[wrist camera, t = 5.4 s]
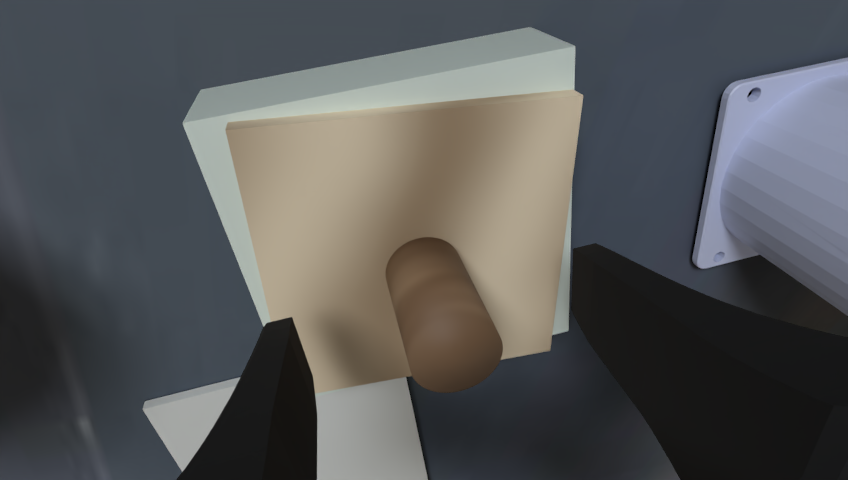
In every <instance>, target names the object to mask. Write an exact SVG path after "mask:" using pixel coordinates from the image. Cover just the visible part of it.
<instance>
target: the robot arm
mask: <svg viewBox="0 0 848 480" xmlns="http://www.w3.org/2000/svg"><path fill="white" fill-rule="evenodd" d="M752 89H753V91H752V93H751V95H750V96H749V97H748V98H747V96H748V94H749V92H750V91H751V90H752ZM757 255H761V256H763V257H764V258H766V259H767V260H768V261H770V262H771V263H773V264H774V265H776V266H777V267H778V268H780V269H781V270H783V271H784V272H786V273H787V274H788V275H790V276H791V277H793V278H794V279H796V280H797V281H798V282H800V283H801V284H803V285H804V286H806V287H807V288H808V289H810V290H811V291H813V292H814V293H816V294H817V295H818V296H820V297H821V298H823V299H824V300H826V301H827V302H828V303H830V304H831V305H833V306H834V307H836V308H837V309H838V310H840V311H841V312H843V313H844V314H846V315H847V316H848V58H844V59H839V60H834V61H829V62H825V63H820V64H815V65H810V66H806V67H801V68H796V69H791V70H787V71H782V72H777V73H772V74H768V75H763V76H758V77H753V78H749V79H744V80H739V81H736V82H733V83H731V84H730V85H729V86H728V87H727V88H726V89H725V91H724V93H723V95H722V99H721V104H720V110H719V115H718V121H717V126H716V132H715V137H714V142H713V148H712V153H711V159H710V164H709V170H708V175H707V181H706V186H705V192H704V197H703V202H702V208H701V213H700V219H699V224H698V230H697V235H696V241H695V246H694V251H693V257H692V261H693V263H694V264H695V265H696V266H697V267H699V268H701V269H705V268H710V267H713V266H717V265H721V264H725V263H729V262H733V261H737V260H741V259H745V258H749V257H753V256H757ZM571 310H572V312H573V314H574V316H575V318H576V320H577V322H578V324H579V326H580V327H581V329H582V331H583V333H584V335H585V336H586V338H587V340H588V342H589V343H590V345H591V346H592V347H593V349H594V350H595V352H596V353H597V354H598V356H599V357H600V359H601V360H602V361H603V363H604V364H605V365H606V367H607V368H608V369H609V371H610V372H611V373H612V375H613V376H614V378H615V379H616V380H617V382H618V383H619V384H620V386H621V387H622V388H623V390H624V391H625V392H626V394H627V395H628V396H629V398H630V399H631V400H632V402H633V403H634V405H635V406H636V407H637V409H638V410H639V411H640V413H641V414H642V416H643V417H644V419H645V420H646V422H647V423H648V425H649V426H650V428H651V429H652V431H653V433H654V435H655V436H656V438H657V440H658V441H659V443H660V445H661V446H662V448H663V450H664V451H665V453H666V455H667V457H668V458H669V460H670V462H671V463H672V465H673V467H674V469H675V471H676V472H677V474H678V476H679V478H680V480H848V337H843V336H838V335H833V334H829V333H825V332H821V331H817V330H812V329H808V328H805V327H801V326H797V325H794V324H790V323H786V322H783V321H779V320H776V319H772V318H769V317H766V316H763V315H759V314H756V313H753V312H751V311H748V310H745V309H742V308H739V307H736V306H733V305H730V304H728V303H725V302H722V301H720V300H717V299H714V298H712V297H710V296H707V295H705V294H702V293H700V292H698V291H695V290H693V289H690V288H688V287H686V286H684V285H681V284H679V283H677V282H675V281H673V280H670V279H668V278H666V277H664V276H662V275H660V274H658V273H656V272H654V271H652V270H650V269H648V268H645V267H643V266H641V265H639V264H637V263H635V262H633V261H631V260H629V259H627V258H625V257H623V256H621V255H619V254H617V253H615V252H613V251H611V250H609V249H607V248H605V247H603V246H601V245H598V244H596V243H595V244H591V245H587V246H583V247H578V248H574V249H573V275H572V306H571ZM177 480H317V407H316V398H315V389H314V381H313V375H312V372H311V369H310V367H309V364H308V361H307V358H306V355H305V352H304V350H303V347H302V344H301V341H300V338H299V335H298V332H297V330H296V327H295V324H294V321H293V318H292V317H289V318H285V319H281V320H277V321H273V322H268V323H266V325H265V326H264V327H263V329H262V332H261V334H260V337H259V339H258V341H257V344H256V346H255V348H254V350H253V353H252V355H251V357H250V359H249V361H248V363H247V365H246V367H245V369H244V371H243V373H242V375H241V377H240V379H239V381H238V383H237V385H236V387H235V389H234V391H233V393H232V395H231V397H230V399H229V400H228V402H227V404H226V405H225V407H224V409H223V411H222V412H221V414H220V416H219V418H218V419H217V421H216V423H215V424H214V426H213V428H212V429H211V431H210V432H209V434H208V436H207V437H206V439H205V440H204V442H203V443H202V445H201V446H200V448H199V449H198V451H197V452H196V454H195V455H194V457H193V458H192V459H191V461H190V462H189V464H188V465H187V466H186V468H185V469H184V471H183V472H182V473H181V474H180V476H179V477H178V478H177Z"/></svg>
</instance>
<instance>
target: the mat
mask: <svg viewBox="0 0 848 480" xmlns="http://www.w3.org/2000/svg"><path fill="white" fill-rule="evenodd" d="M239 379H240V377H239V378H235V379H231V380H227V381H223V382H219V383H215V384H211V385H207V386H203V387H199V388H196V389H192V390H188V391H184V392H180V393H176V394H172V395H168V396H164V397H160V398H156V399H152V400H148V401H145V403H144V406H143V411H144V412H145V414H146V416H147V417H148V419H149V420H150V422H151V423H152V425H153V427H154V428H155V430H156V431H157V433H158V434H159V436H160V438H161V439H162V441H163V442H164V444H165V445H166V447H167V448H168V450H169V452H170V453H171V455H172V456H173V458H174V459H175V461H176V463H177V464H178V466H179V467H180V469H181V470H182V472H183V471H184V469H185V468H186V466H187V465H188V464H189V462H190V461H191V459H192V458H193V457H194V455H195V454H196V452H197V451H198V449H199V448H200V446H201V445H202V443H203V442H204V440H205V439H206V437H207V436H208V434H209V432H210V431H211V429H212V428H213V426H214V424H215V423H216V421H217V419H218V418H219V416H220V414H221V412H222V411H223V409H224V407H225V405H226V404H227V402H228V400H229V399H230V397H231V395H232V393H233V391H234V389H235V387H236V385H237V383H238V381H239ZM315 398H316V407H317V480H428V478H427V473H426V468H425V463H424V459H423V454H422V449H421V445H420V440H419V435H418V431H417V426H416V421H415V416H414V412H413V407H412V402H411V398H410V393H409V388H408V383H407V379H406V377H403V378H398V379H392V380H387V381H381V382H376V383H370V384H365V385H359V386H355V387H352V388H348V389H344V390H340V391H336V392H332V393H329V394H325V395H321V396H317V397H315Z"/></svg>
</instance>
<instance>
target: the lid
mask: <svg viewBox="0 0 848 480" xmlns="http://www.w3.org/2000/svg"><path fill="white" fill-rule="evenodd" d="M582 102H583V95H582V94H580V93H578V92H577V91H575V90H573V89H572V90H562V91H551V92H540V93H530V94H519V95H509V96H498V97H488V98H477V99H467V100H456V101H445V102H435V103H424V104H414V105H403V106H393V107H382V108H372V109H361V110H351V111H340V112H330V113H319V114H309V115H298V116H288V117H277V118H267V119H256V120H245V121H235V122H228V123H227V126H226V129H225V131H226V135H227V139H228V144H229V148H230V152H231V156H232V160H233V165H234V169H235V173H236V177H237V181H238V186H239V190H240V194H241V198H242V202H243V207H244V211H245V215H246V219H247V223H248V228H249V232H250V236H251V240H252V244H253V249H254V253H255V257H256V261H257V265H258V270H259V274H260V278H261V282H262V286H263V291H264V295H265V299H266V303H267V307H268V312H269V316H270V320H271V322H273V321H277V320H281V319H285V318H289V317H292V318H293V321H294V324H295V327H296V330H297V332H298V335H299V338H300V341H301V344H302V347H303V350H304V352H305V355H306V358H307V361H308V364H309V367H310V369H311V372H312V375H313V381H314V389H315V393H321V392H326V391H332V390H337V389H343V388H348V387H354V386H359V385H365V384H370V383H376V382H381V381H387V380H392V379H398V378H403V377H409V376H413V378H414V380H415V381H416V382H417V383H418V384H419V385H420V386H422V387H424V388H425V389H428V390H430V391H434V392H440V393H451V392H458V391H462V390H465V389H468V388H470V387H473V386H475V385H477V384H478V383H480V382H481V381H483V380H484V379H486V378H487V377H488V376H489V375H490V374H491V373H492V372H493V371H494V370H495V368H496V367H497V365H498V364H499V362H500V360H502V359H507V358H513V357H518V356H524V355H529V354H535V353H540V352H546V351H550V347H551V340H552V332H553V324H554V317H555V309H556V301H557V294H558V286H559V278H560V271H561V263H562V255H563V248H564V240H565V232H566V225H567V217H568V209H569V202H570V194H571V186H572V179H573V171H574V163H575V156H576V148H577V140H578V132H579V125H580V117H581V109H582Z"/></svg>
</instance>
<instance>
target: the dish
mask: <svg viewBox="0 0 848 480" xmlns="http://www.w3.org/2000/svg"><path fill="white" fill-rule="evenodd" d="M574 79H575V46H574V45H571V44H569V43H567V42H564V41H562V40H560V39H557V38H555V37H553V36H550V35H548V34H546V33H543V32H541V31H538V30H536V29H534V28H531V27H528V28H523V29H518V30H512V31H507V32H502V33H497V34H491V35H486V36H481V37H476V38H470V39H465V40H460V41H455V42H450V43H444V44H439V45H434V46H429V47H423V48H418V49H413V50H408V51H402V52H397V53H392V54H387V55H381V56H376V57H371V58H366V59H360V60H355V61H350V62H345V63H339V64H334V65H329V66H324V67H318V68H313V69H308V70H303V71H297V72H292V73H287V74H282V75H276V76H271V77H266V78H261V79H255V80H250V81H245V82H240V83H234V84H229V85H224V86H219V87H213V88H208V89H203V90H200V92H199V94H198V96H197V97H196V99H195V101H194V103H193V105H192V107H191V108H190V110H189V112H188V114H187V116H186V118H185V119H184V121H183V126H184V128H185V131H186V133H187V136H188V138H189V141H190V143H191V146H192V148H193V151H194V153H195V156H196V158H197V161H198V163H199V166H200V168H201V171H202V173H203V176H204V178H205V181H206V183H207V186H208V188H209V191H210V193H211V196H212V198H213V201H214V203H215V206H216V208H217V211H218V213H219V216H220V218H221V221H222V223H223V226H224V228H225V231H226V234H227V236H228V239H229V241H230V244H231V246H232V249H233V251H234V254H235V256H236V259H237V261H238V264H239V266H240V269H241V271H242V274H243V276H244V279H245V281H246V284H247V286H248V289H249V291H250V294H251V296H252V299H253V301H254V304H255V306H256V309H257V311H258V314H259V316H260V319H261V321H262V324H263V326H265V325H266V323H268V322H271V320H270V316H269V312H268V307H267V303H266V299H265V295H264V291H263V286H262V282H261V278H260V274H259V270H258V265H257V261H256V257H255V253H254V249H253V244H252V240H251V236H250V232H249V228H248V223H247V219H246V215H245V211H244V207H243V202H242V198H241V194H240V190H239V186H238V181H237V177H236V173H235V169H234V165H233V160H232V156H231V152H230V148H229V144H228V139H227V135H226V131H225V129H226V126H227V123H228V122H235V121H245V120H256V119H267V118H277V117H288V116H298V115H309V114H319V113H330V112H340V111H351V110H361V109H372V108H382V107H393V106H403V105H414V104H424V103H435V102H445V101H456V100H467V99H477V98H488V97H498V96H509V95H519V94H530V93H540V92H551V91H562V90H572V89H573V90H574ZM571 205H572V186H571V194H570V202H569V209H568V217H567V225H566V232H565V240H564V248H563V255H562V263H561V271H560V278H559V286H558V294H557V301H556V309H555V317H554V324H553V332H552V335H555V334H559V333H562V332H566V331H569V289H570V247H571ZM354 387H355V386H354ZM348 388H352V387H348ZM348 388H343V389H337V390H332V391H326V392H321V393H315V397H317V396H321V395H325V394H329V393H332V392H336V391H340V390H344V389H348Z"/></svg>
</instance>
